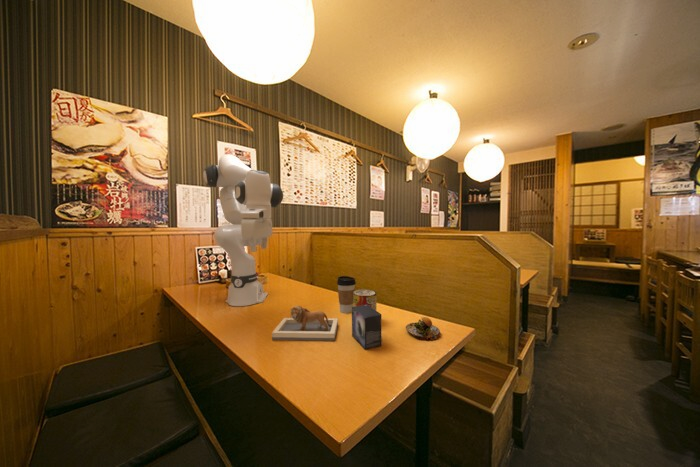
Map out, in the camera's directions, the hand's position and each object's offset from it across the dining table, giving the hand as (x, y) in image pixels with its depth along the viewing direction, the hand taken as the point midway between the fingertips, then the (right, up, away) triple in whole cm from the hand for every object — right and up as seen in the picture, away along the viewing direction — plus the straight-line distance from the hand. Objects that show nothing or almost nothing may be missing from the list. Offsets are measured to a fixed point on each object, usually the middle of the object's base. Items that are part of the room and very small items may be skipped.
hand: (259, 250), depth 93 cm
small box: (+40, -30, -11) cm, 51 cm away
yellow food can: (+40, -29, +4) cm, 50 cm away
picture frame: (+19, -29, -5) cm, 35 cm away
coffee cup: (+33, -29, +17) cm, 47 cm away
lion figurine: (+20, -29, -5) cm, 35 cm away
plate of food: (+60, -30, -6) cm, 67 cm away
